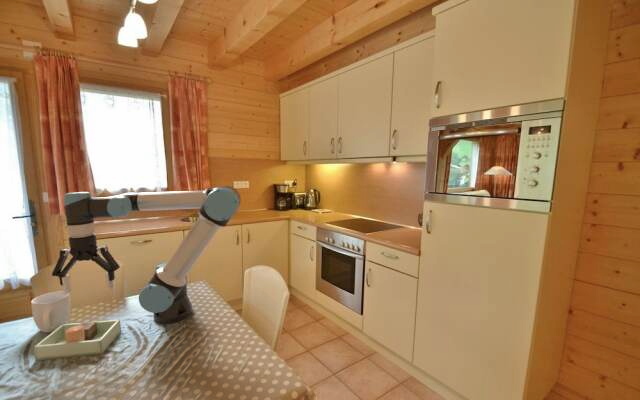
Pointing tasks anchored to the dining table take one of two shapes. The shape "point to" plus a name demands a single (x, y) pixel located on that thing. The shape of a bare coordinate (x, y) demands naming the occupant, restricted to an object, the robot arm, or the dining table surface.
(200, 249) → the robot arm
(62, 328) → the tray
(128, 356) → the dining table surface
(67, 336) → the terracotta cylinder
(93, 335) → the walnut cube
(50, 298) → the mug
